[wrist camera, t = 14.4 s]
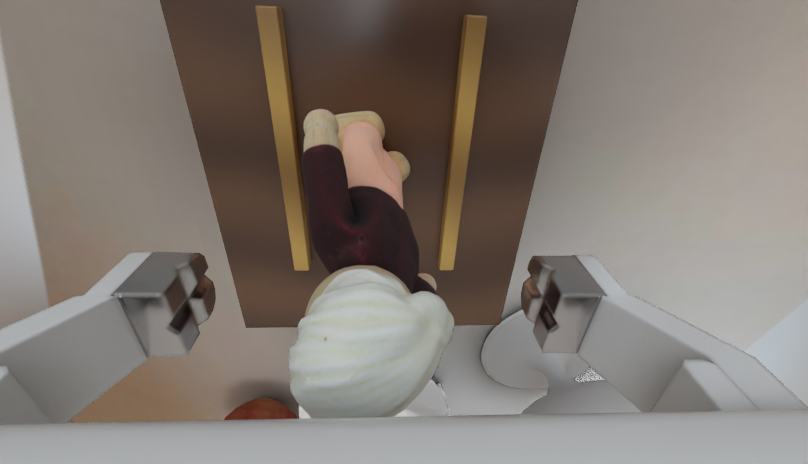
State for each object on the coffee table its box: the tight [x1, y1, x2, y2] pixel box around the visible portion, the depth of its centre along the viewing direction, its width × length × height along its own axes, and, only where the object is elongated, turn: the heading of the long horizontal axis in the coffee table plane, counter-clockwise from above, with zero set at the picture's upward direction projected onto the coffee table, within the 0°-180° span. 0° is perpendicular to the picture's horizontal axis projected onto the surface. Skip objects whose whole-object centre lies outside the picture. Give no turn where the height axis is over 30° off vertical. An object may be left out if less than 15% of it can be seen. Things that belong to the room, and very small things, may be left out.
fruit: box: [224, 397, 298, 420], centre depth 33 cm, size 8×8×10 cm
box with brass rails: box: [160, 0, 578, 328], centre depth 20 cm, size 22×16×8 cm
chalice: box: [481, 309, 641, 414], centre depth 28 cm, size 14×14×15 cm
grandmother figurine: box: [288, 109, 454, 418], centre depth 12 cm, size 8×4×13 cm, turn 40°
